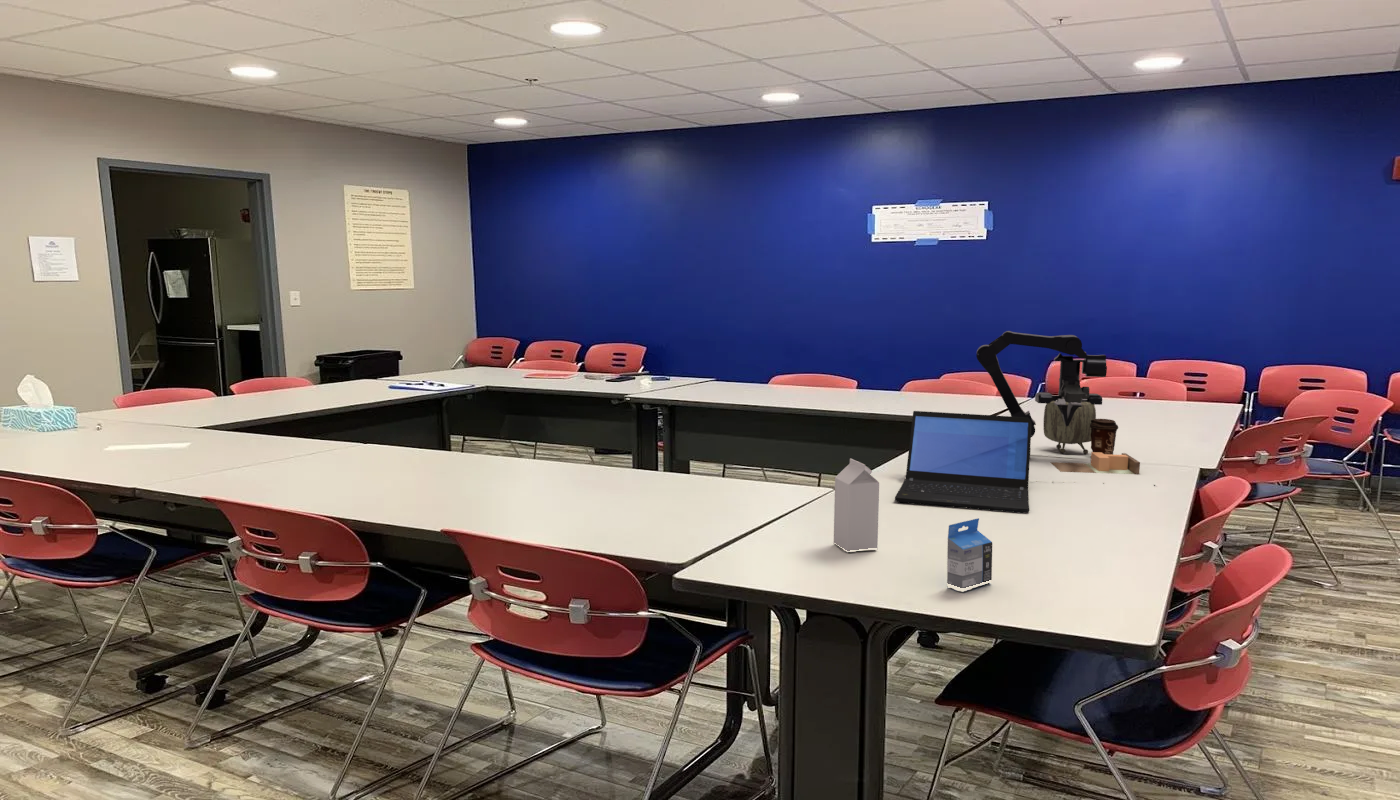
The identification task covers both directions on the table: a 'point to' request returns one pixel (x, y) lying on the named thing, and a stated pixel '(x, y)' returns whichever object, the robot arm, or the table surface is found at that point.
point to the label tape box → (968, 555)
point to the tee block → (1108, 461)
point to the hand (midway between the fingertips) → (1066, 426)
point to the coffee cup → (1103, 435)
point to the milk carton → (856, 508)
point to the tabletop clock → (1076, 429)
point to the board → (1087, 468)
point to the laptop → (968, 461)
